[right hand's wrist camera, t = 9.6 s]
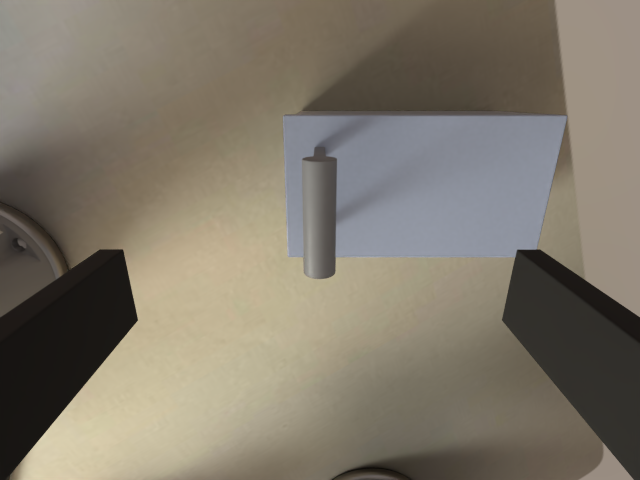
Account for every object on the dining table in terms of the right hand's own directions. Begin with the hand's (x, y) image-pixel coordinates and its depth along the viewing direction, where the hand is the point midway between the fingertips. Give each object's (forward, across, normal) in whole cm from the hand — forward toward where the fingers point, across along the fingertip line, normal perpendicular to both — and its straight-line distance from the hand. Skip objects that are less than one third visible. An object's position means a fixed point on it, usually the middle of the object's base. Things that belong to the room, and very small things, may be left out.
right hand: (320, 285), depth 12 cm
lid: (+15, -7, 0) cm, 16 cm away
